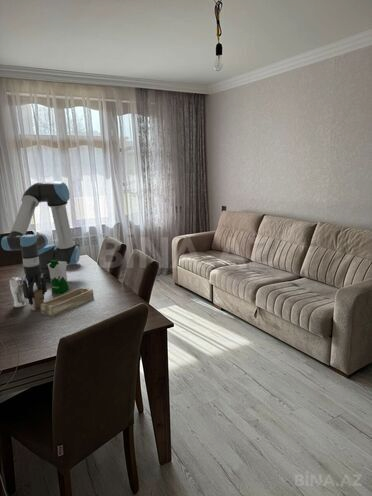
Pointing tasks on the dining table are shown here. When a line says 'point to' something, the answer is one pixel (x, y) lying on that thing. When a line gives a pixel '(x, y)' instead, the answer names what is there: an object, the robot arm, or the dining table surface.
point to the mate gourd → (73, 264)
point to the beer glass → (17, 291)
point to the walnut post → (37, 298)
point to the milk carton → (58, 277)
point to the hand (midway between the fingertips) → (37, 307)
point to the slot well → (66, 301)
